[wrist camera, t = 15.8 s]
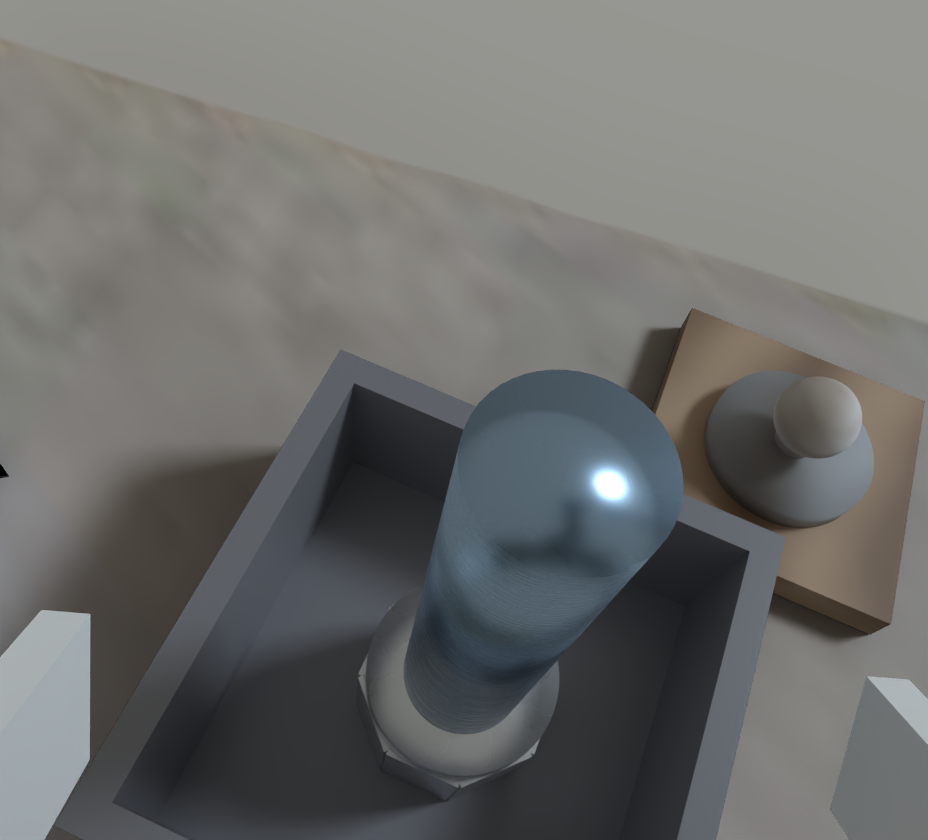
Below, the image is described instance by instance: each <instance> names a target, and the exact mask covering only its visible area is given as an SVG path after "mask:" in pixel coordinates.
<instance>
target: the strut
mask: <svg viewBox="0 0 928 840" xmlns="http://www.w3.org/2000/svg"><path fill="white" fill-rule="evenodd" d="M683 487H684V486H683V472H682V468H681V463H680V459H679V456H678V453H677V450H676V447H675V445H674V443H673V441H672V439H671V437H670V435H669V433H668V432H667V430H666V429H665V427H664V425H663V424H662V422H661V421H660V420H659V419H658V418H657V416H656V415H655V414H654V413H653V412H652V411H651V410H650V409H649V408H648V407H647V406H646V405H645V404H644V403H643V402H642V401H641V400H639V399H638V398H637V397H635V396H634V395H633V394H632V393H630V392H628V391H627V390H625V389H624V388H622V387H620V386H619V385H616V384H614V383H612V382H610V381H608V380H606V379H603V378H600V377H597V376H595V375H591V374H587V373H583V372H578V371H570V370H545V371H537V372H532V373H528V374H524V375H521V376H519V377H516V378H513V379H511V380H509V381H507V382H505V383H503V384H502V385H500V386H498V387H497V388H496V389H494V390H493V391H491V392H490V393H489V394H488V395H487V396H486V397H485V398H484V399H483V400H482V401H481V402H480V403H479V404H478V405H477V407H476V408H475V409H474V410H473V412H472V414H471V415H470V417H469V419H468V421H467V422H466V425H465V427H464V430H463V433H462V435H461V439H460V443H459V447H458V451H457V455H456V459H455V463H454V467H453V471H452V475H451V479H450V483H449V486H448V490H447V494H446V498H445V502H444V506H443V510H442V514H441V518H440V522H439V526H438V530H437V534H436V538H435V542H434V545H433V549H432V553H431V557H430V561H429V565H428V569H427V573H426V577H425V581H424V585H422V586H420V587H417V588H416V589H414V590H412V591H411V592H409V593H407V594H406V595H405V596H404V597H402V598H401V599H400V600H398V601H397V602H396V603H395V604H393V605H392V607H390V608H389V610H388V612H387V613H386V615H385V616H384V617H383V619H382V620H381V622H380V624H379V626H378V627H377V629H376V631H375V633H374V636H373V639H372V641H371V644H370V648H369V652H368V654H367V657H366V659H365V661H364V663H363V665H362V667H361V669H360V671H359V673H358V685H357V701H356V703H357V706H358V709H359V712H360V715H361V718H362V721H363V724H364V727H365V730H366V733H367V736H368V739H369V741H370V744H371V747H372V750H373V753H374V756H375V759H376V762H377V765H378V768H379V769H382V770H381V772H383V773H385V774H387V775H389V776H391V777H393V778H396V779H398V780H400V781H402V782H404V783H406V784H408V785H411V786H413V787H415V788H417V789H419V790H421V791H423V792H426V793H428V794H430V795H432V796H434V797H436V798H438V799H441V800H443V801H445V800H447V801H449V800H451V799H453V798H456V797H458V796H460V795H462V794H465V793H467V792H469V791H471V790H474V789H476V788H478V787H481V786H483V785H485V784H487V783H490V782H492V781H494V780H496V779H499V778H501V777H503V776H506V775H508V774H510V773H511V772H513V771H514V770H515V769H517V768H518V767H519V766H521V765H522V764H523V763H525V762H526V761H527V760H529V759H530V758H531V757H532V756H533V755H534V754H535V751H536V748H537V745H538V742H539V740H540V737H541V736H542V735H543V733H544V731H545V730H546V728H547V726H548V724H549V722H550V720H551V718H552V715H553V713H554V710H555V706H556V703H557V699H558V691H559V666H558V659H559V658H560V657H561V656H562V655H563V654H564V653H565V652H566V650H567V649H568V648H569V647H570V646H571V645H572V644H573V643H574V642H575V640H576V639H577V638H578V637H579V636H580V635H581V634H582V633H583V632H584V630H585V629H586V628H587V627H588V626H589V625H590V624H591V623H592V622H593V620H594V619H595V618H596V617H597V616H598V615H599V614H600V613H601V612H602V610H603V609H604V608H605V607H606V606H607V605H608V604H609V603H610V602H611V600H612V599H613V598H614V597H615V596H616V595H617V594H618V593H619V592H620V590H621V589H622V588H623V587H624V586H625V585H626V584H627V583H628V582H629V580H630V579H631V578H632V577H633V576H634V575H635V574H636V573H637V572H638V571H639V569H640V568H641V567H642V566H643V565H644V564H645V563H646V562H647V561H648V559H649V558H650V557H651V556H652V555H653V554H654V553H655V552H656V551H657V549H658V548H659V547H660V546H661V545H662V543H663V542H664V541H665V540H666V539H667V537H668V536H669V534H670V532H671V531H672V529H673V527H674V526H675V523H676V521H677V518H678V516H679V513H680V509H681V504H682V500H683Z"/></svg>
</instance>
